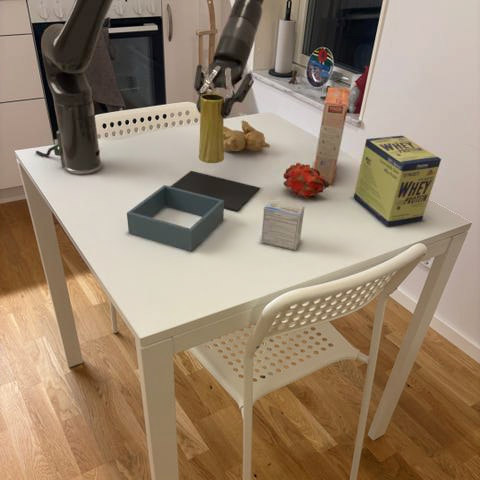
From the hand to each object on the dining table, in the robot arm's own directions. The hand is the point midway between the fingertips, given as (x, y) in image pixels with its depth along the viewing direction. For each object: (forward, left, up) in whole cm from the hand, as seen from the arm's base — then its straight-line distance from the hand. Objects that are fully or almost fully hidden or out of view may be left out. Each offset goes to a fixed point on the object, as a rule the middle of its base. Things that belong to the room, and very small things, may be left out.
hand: (211, 113), depth 117 cm
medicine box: (+24, -13, -20) cm, 34 cm away
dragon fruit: (+21, +12, -20) cm, 31 cm away
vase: (0, 0, -11) cm, 11 cm away
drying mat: (0, +2, -20) cm, 20 cm away
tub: (+1, -18, -20) cm, 27 cm away
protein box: (+42, +14, -20) cm, 49 cm away
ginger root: (-5, +31, -20) cm, 37 cm away
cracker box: (+22, +27, -20) cm, 40 cm away
